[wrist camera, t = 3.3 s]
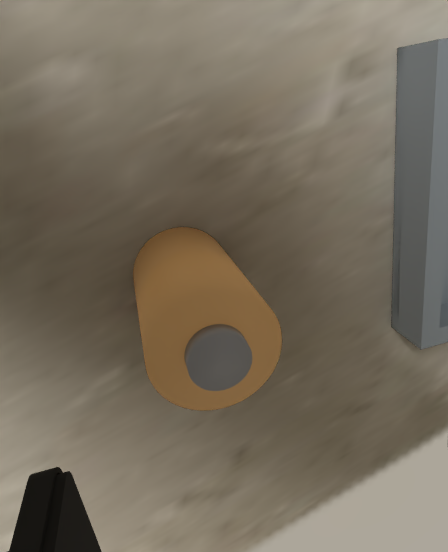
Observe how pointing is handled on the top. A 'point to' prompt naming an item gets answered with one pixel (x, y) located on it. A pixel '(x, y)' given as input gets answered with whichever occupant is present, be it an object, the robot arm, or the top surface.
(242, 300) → the battery cell
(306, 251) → the top surface
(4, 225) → the top surface
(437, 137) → the tray
